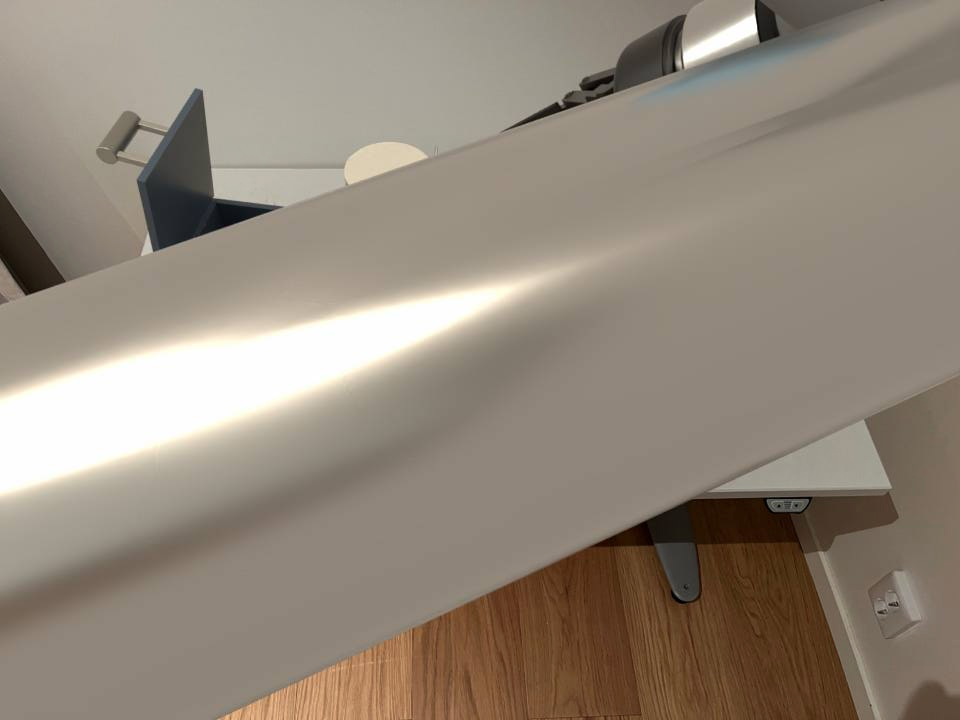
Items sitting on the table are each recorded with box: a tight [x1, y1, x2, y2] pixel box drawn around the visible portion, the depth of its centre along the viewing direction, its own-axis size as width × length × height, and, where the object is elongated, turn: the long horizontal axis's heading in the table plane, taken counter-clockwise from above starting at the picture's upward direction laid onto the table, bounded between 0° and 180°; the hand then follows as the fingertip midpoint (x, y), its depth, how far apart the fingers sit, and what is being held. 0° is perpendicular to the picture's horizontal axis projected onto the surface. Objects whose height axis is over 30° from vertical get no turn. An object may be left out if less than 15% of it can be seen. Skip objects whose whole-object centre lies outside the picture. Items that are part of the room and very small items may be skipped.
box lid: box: [95, 87, 215, 252], centre depth 72 cm, size 15×15×7 cm
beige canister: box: [343, 141, 429, 186], centre depth 58 cm, size 7×7×10 cm
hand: (462, 197), depth 52 cm, fingers open, 13 cm apart
